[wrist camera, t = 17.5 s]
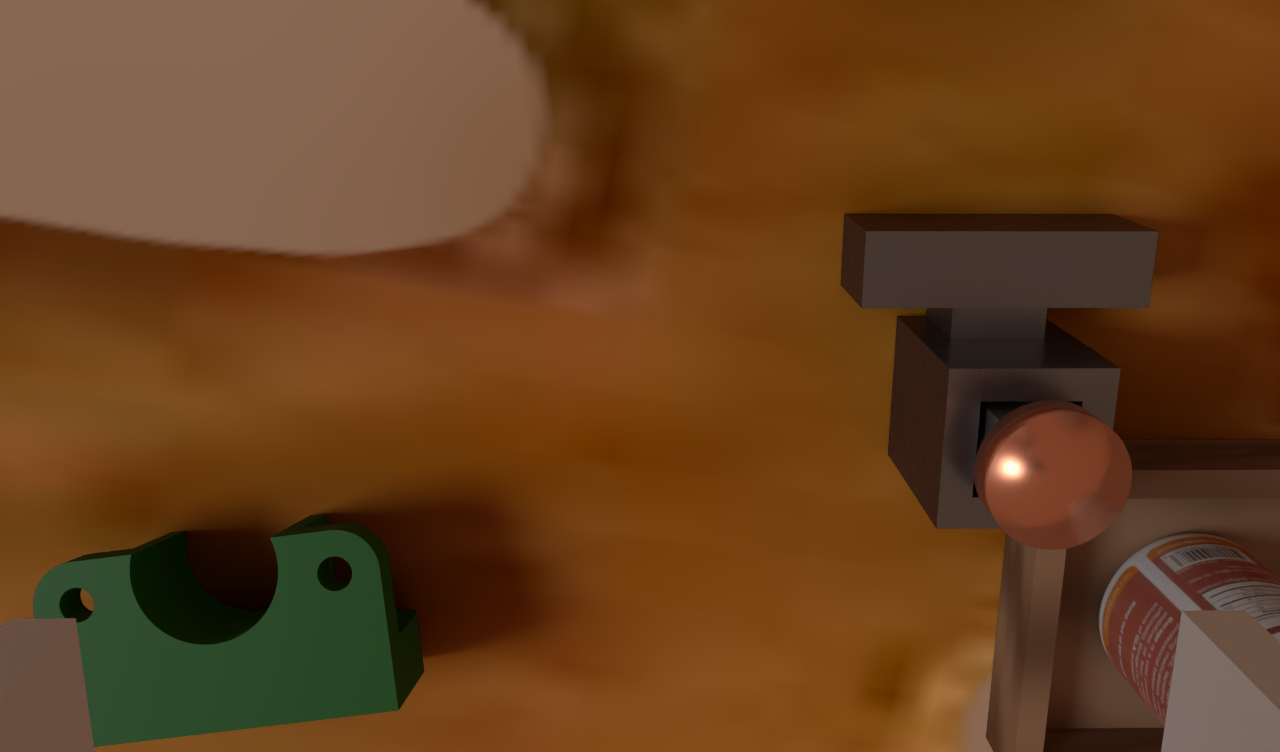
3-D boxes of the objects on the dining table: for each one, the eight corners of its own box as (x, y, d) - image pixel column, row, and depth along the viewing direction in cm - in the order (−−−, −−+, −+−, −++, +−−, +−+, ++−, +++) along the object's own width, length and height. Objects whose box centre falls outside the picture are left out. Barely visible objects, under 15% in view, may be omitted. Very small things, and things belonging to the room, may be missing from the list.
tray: (1015, 440, 42) (1045, 470, 39) (1350, 439, 42) (1404, 469, 39) (985, 737, 45) (1011, 785, 42) (1296, 734, 46) (1342, 781, 43)
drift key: (925, 345, 39) (993, 413, 32) (1046, 344, 39) (1140, 413, 32) (916, 460, 40) (981, 550, 33) (1034, 459, 40) (1122, 549, 33)
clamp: (377, 493, 47) (428, 515, 38) (397, 643, 47) (452, 697, 38) (39, 549, 42) (13, 588, 34) (63, 715, 42) (42, 794, 34)
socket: (862, -124, 36) (914, -154, 30) (1151, -121, 37) (1262, -151, 30) (831, 454, 42) (870, 528, 36) (1084, 453, 42) (1166, 527, 36)
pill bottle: (1160, 712, 44) (1337, 931, 33) (1058, 606, 43) (1208, 798, 32) (1297, 605, 43) (1525, 796, 32) (1196, 492, 41) (1399, 652, 31)
